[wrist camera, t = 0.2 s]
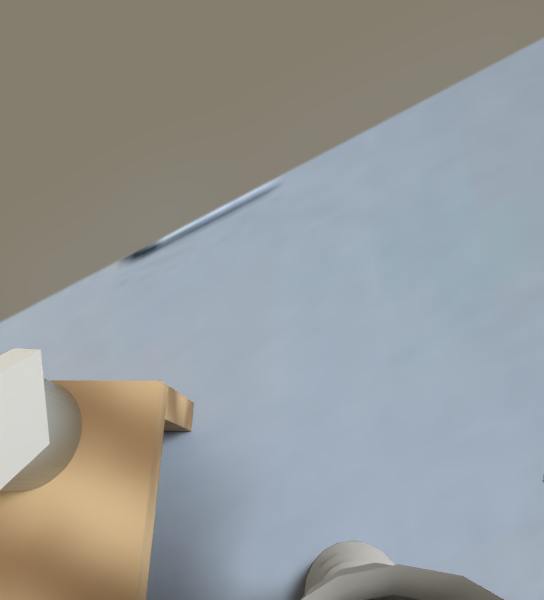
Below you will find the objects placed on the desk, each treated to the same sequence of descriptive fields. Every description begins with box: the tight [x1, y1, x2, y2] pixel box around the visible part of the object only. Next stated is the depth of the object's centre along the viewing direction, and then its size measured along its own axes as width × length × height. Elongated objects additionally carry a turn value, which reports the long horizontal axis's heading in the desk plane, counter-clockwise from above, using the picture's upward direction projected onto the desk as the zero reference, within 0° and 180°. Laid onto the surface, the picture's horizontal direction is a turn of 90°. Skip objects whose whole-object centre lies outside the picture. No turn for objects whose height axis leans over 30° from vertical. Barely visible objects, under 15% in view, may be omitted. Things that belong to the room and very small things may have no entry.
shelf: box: [0, 381, 194, 600], centre depth 23 cm, size 17×12×6 cm
